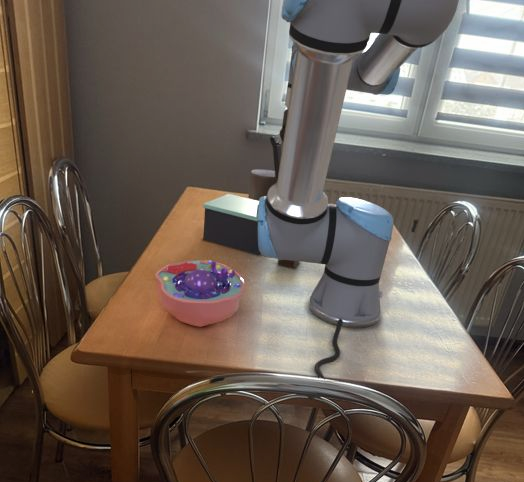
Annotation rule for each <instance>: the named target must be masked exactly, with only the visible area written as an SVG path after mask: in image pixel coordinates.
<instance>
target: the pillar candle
mask: <svg viewBox="0 0 524 482" xmlns="http://www.w3.org/2000/svg"><path fill="white" fill-rule="evenodd" d="M249 179H250V180H249V189H248V197H247V198H248V199H253V200H257V201H259V199H260V198H261V197H264V196H267V194H268V190H269V189H270V187H271V186H273V185H274V184H276V183H277V181H278V179H277V178H276V177H275V170H270V169H269V170H268V169H251V171H250V178H249Z"/></svg>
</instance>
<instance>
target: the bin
mask: <svg viewBox="0 0 524 482" xmlns="http://www.w3.org/2000/svg"><path fill="white" fill-rule="evenodd" d="M203 222H204V223H203V237H202V240H203V241H206V242H210V243H212V244H217V245H221V246H224V247H228V248H231V249H235V250H239V251H241V252H246V253H250V254H253V255H257V256H259V255H260V254H261V253H260V251H259V247H258V221H254V220H250V219H246V218H242V217H238V216H235V215H231V214H227V213H223V212H219V211H215V210H211V209H207V208H204V220H203Z"/></svg>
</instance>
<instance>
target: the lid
mask: <svg viewBox="0 0 524 482" xmlns="http://www.w3.org/2000/svg"><path fill="white" fill-rule="evenodd" d="M258 205H259V201H257V200H253V199H248V197H243V196H239V195H236V194H232V193H226V194H224V195H221V196H219V197H217V198H214V199H211V200H209V201H206V202H204V203H202V208H204V209H205V208H207V209H211V210H215V211H219V212H223V213H227V214H231V215H235V216H238V217H242V218H246V219H250V220H254V221H258Z"/></svg>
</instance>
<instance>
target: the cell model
mask: <svg viewBox="0 0 524 482" xmlns="http://www.w3.org/2000/svg"><path fill="white" fill-rule="evenodd" d="M154 275H155V277H154V278H155V284H156V285H155V286H156V293H157V300H158V303H159V305H160V306H161V308H162V309H164V310H165V311H166V312H167V313H169V314H170V315H171V316H173V317H174V318H176V320H179V322H182V323H184V324H187V325H190V326H193V327H197V328H198V327H199V328H202V327H206V326H210V325H213V324H217V323H220V322H222V321H225V320H228V319H229V318H231V317H232V316H234V314H235V313H236V312H237V311H238V310H239V308H240V304H241V298H242V296H243V294H244V292H245V287H246V282H245V280H244V278H243V277H242V275H241V274H240V273H239V272H237V270H234V269H232V268H231V267H229V266H228V265H227V264H224V263H221V262H216V261H212V260H210V259H209V260H207V259H205V260H204V259H202V260H201V259H191V260H184V261H179V262H174V263H169V264H166V265H164V266H163V267H162V268H160V269H158V270H157V271H156V272H155V274H154Z"/></svg>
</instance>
